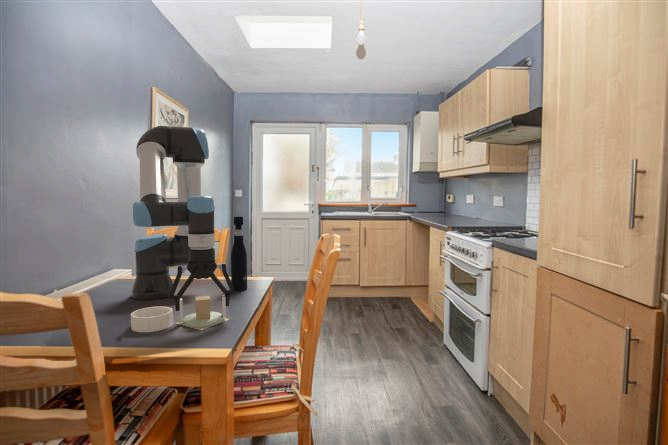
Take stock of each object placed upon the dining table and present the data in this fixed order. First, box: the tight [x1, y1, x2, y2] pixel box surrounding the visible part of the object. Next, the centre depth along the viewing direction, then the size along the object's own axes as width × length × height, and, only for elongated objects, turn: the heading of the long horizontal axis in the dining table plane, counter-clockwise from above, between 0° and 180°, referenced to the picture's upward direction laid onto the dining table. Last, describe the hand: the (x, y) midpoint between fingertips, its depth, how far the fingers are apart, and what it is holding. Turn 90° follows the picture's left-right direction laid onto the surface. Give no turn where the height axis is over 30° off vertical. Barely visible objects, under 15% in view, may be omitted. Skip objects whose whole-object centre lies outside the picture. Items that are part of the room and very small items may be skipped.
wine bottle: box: [230, 216, 248, 292], centre depth 160 cm, size 6×6×30 cm
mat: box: [175, 317, 230, 331], centre depth 118 cm, size 11×11×1 cm
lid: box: [182, 295, 223, 329], centre depth 118 cm, size 12×12×7 cm
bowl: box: [130, 305, 174, 333], centre depth 114 cm, size 11×11×5 cm
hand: (203, 318), depth 118 cm, fingers closed on lid, 12 cm apart
